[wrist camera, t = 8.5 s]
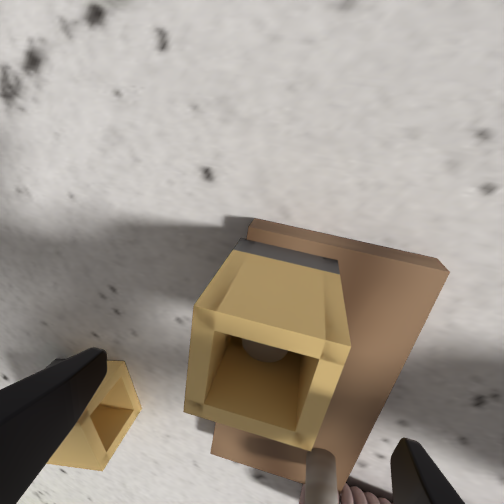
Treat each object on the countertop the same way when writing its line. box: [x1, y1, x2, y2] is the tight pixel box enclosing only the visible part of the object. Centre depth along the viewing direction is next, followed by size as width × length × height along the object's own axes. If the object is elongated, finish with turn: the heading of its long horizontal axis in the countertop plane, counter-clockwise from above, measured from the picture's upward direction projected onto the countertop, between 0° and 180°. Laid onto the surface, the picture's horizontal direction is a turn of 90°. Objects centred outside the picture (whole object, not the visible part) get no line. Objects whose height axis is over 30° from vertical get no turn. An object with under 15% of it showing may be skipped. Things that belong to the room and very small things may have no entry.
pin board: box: [210, 218, 450, 504], centre depth 16 cm, size 9×17×6 cm, turn 171°
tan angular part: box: [45, 359, 142, 471], centre depth 21 cm, size 5×5×6 cm
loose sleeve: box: [183, 238, 351, 451], centre depth 12 cm, size 5×5×6 cm
